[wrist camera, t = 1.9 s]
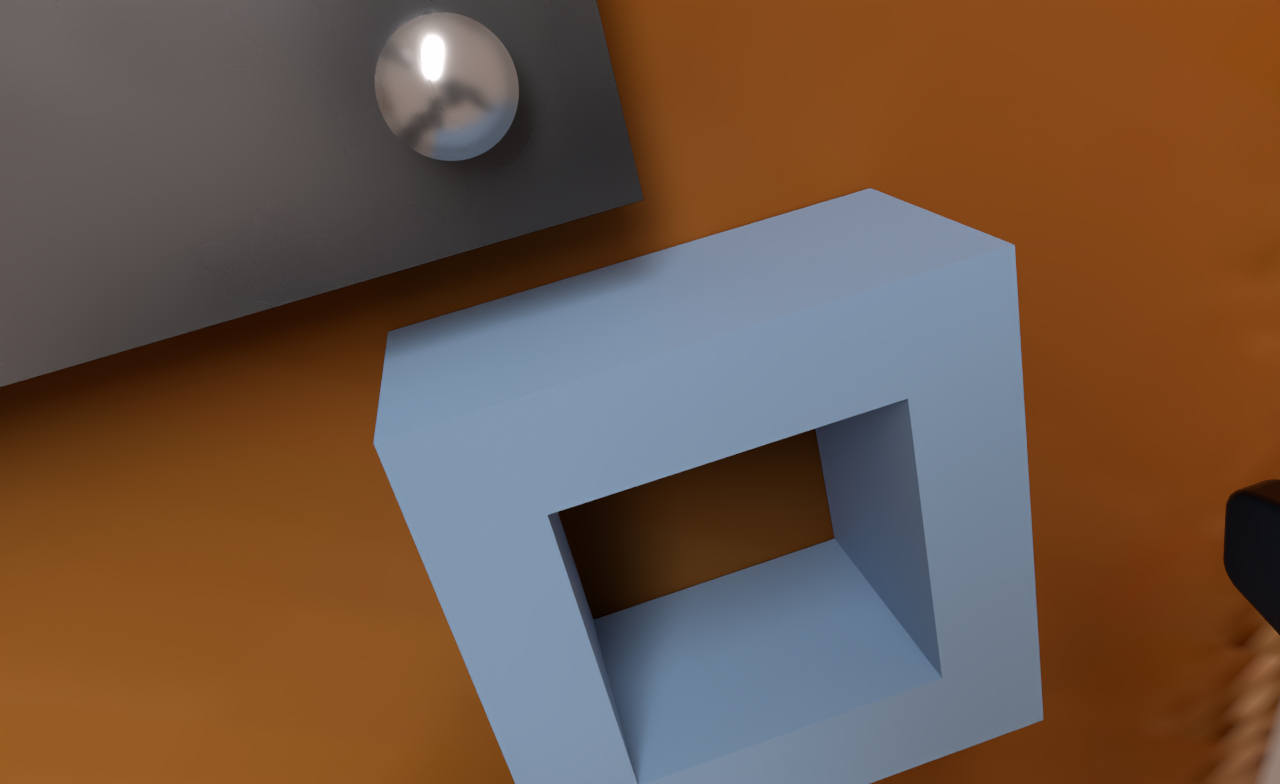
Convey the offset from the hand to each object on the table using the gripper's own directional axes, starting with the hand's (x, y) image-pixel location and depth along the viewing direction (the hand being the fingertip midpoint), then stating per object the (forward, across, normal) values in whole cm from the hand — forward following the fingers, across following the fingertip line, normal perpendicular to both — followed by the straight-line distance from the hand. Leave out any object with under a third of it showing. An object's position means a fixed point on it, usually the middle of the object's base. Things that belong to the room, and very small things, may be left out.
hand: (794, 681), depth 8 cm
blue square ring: (+4, 0, 0) cm, 4 cm away
